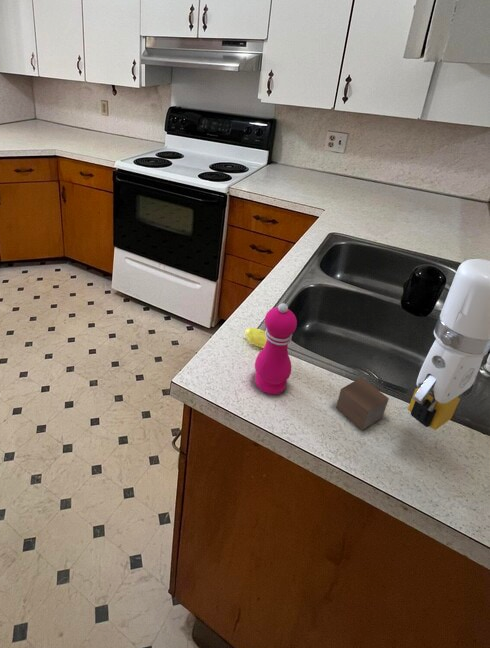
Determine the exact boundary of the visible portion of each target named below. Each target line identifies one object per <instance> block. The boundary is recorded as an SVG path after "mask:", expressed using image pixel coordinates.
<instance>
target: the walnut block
mask: <svg viewBox="0 0 490 648" xmlns="http://www.w3.org/2000/svg"><path fill="white" fill-rule="evenodd" d="M389 399H390V398H389V397H388V396H386V395H385V394H384V393H383V392H382V391H380V390H379V389H377V388H376V387H375V386H374V385H373V384H371V383H369V382H368V381H367V380H366V379H364V377H359V378H358V379H356V380H354V381H352V382H350V383H349V384H346V385H345V386H343V387H341V388H340V391H339V394H338V398H337V402H336V405H335V407H336V409H337V410H338V411H340V413H342V414H343V415H344V416H345V417H346V418H347V419H348V420H350V421H351V422H352V423H353V424H354V425H355V426H356V427H357V428H359V429H360V430H361V431H363V430H365V429H367V428H369V427H370V426H371V425H373V424H375V423H376V422H378V421H379V420H381V419H382V418H383V417H384V415H385V412H386V409H387V405H388V402H389Z"/></svg>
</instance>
